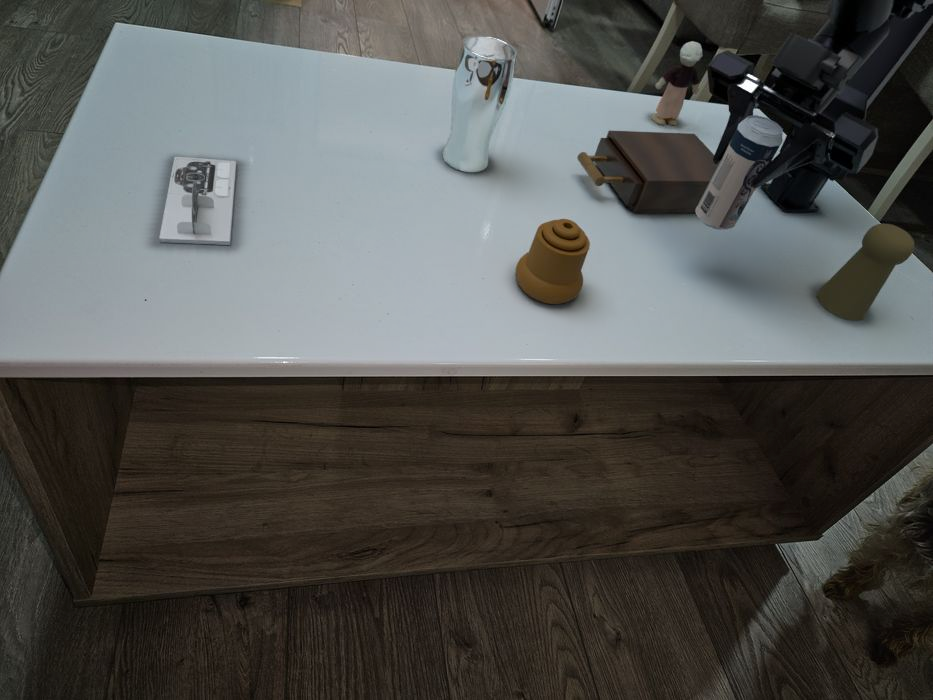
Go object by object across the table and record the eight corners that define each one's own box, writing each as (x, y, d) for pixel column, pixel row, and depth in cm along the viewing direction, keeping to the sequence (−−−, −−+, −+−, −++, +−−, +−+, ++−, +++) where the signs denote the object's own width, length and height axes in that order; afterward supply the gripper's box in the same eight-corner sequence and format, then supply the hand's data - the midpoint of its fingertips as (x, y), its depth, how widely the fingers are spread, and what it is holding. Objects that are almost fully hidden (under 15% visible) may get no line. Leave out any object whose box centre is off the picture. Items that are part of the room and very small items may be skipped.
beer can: (730, 238, 77) (785, 142, 69) (690, 222, 78) (739, 125, 69) (736, 217, 80) (789, 124, 72) (697, 202, 81) (745, 108, 73)
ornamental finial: (501, 285, 74) (531, 254, 79) (562, 318, 72) (589, 284, 77) (519, 225, 68) (551, 195, 74) (586, 258, 67) (613, 226, 72)
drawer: (598, 206, 88) (607, 183, 86) (566, 158, 95) (573, 136, 92) (710, 205, 94) (721, 184, 91) (672, 161, 101) (682, 140, 98)
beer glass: (430, 161, 89) (451, 45, 78) (451, 140, 94) (474, 28, 83) (479, 181, 88) (507, 66, 77) (498, 158, 93) (526, 48, 82)
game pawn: (861, 328, 82) (922, 256, 74) (812, 304, 83) (867, 230, 76) (868, 303, 86) (926, 232, 78) (821, 281, 87) (874, 209, 80)
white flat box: (230, 245, 70) (228, 208, 67) (159, 242, 68) (153, 204, 65) (236, 164, 80) (234, 128, 77) (174, 159, 78) (170, 123, 75)
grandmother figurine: (672, 113, 114) (706, 37, 106) (686, 125, 112) (722, 48, 103) (636, 115, 111) (668, 36, 102) (650, 127, 109) (683, 48, 100)
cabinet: (634, 213, 90) (648, 180, 86) (596, 162, 98) (608, 130, 94) (722, 212, 95) (739, 181, 91) (680, 163, 102) (694, 133, 99)
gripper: (758, -32, 69) (655, 93, 70) (937, 49, 61) (816, 188, 63) (757, 36, 79) (667, 144, 80) (911, 112, 71) (807, 231, 73)
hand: (733, 173), depth 74 cm, fingers closed on beer can, 5 cm apart
